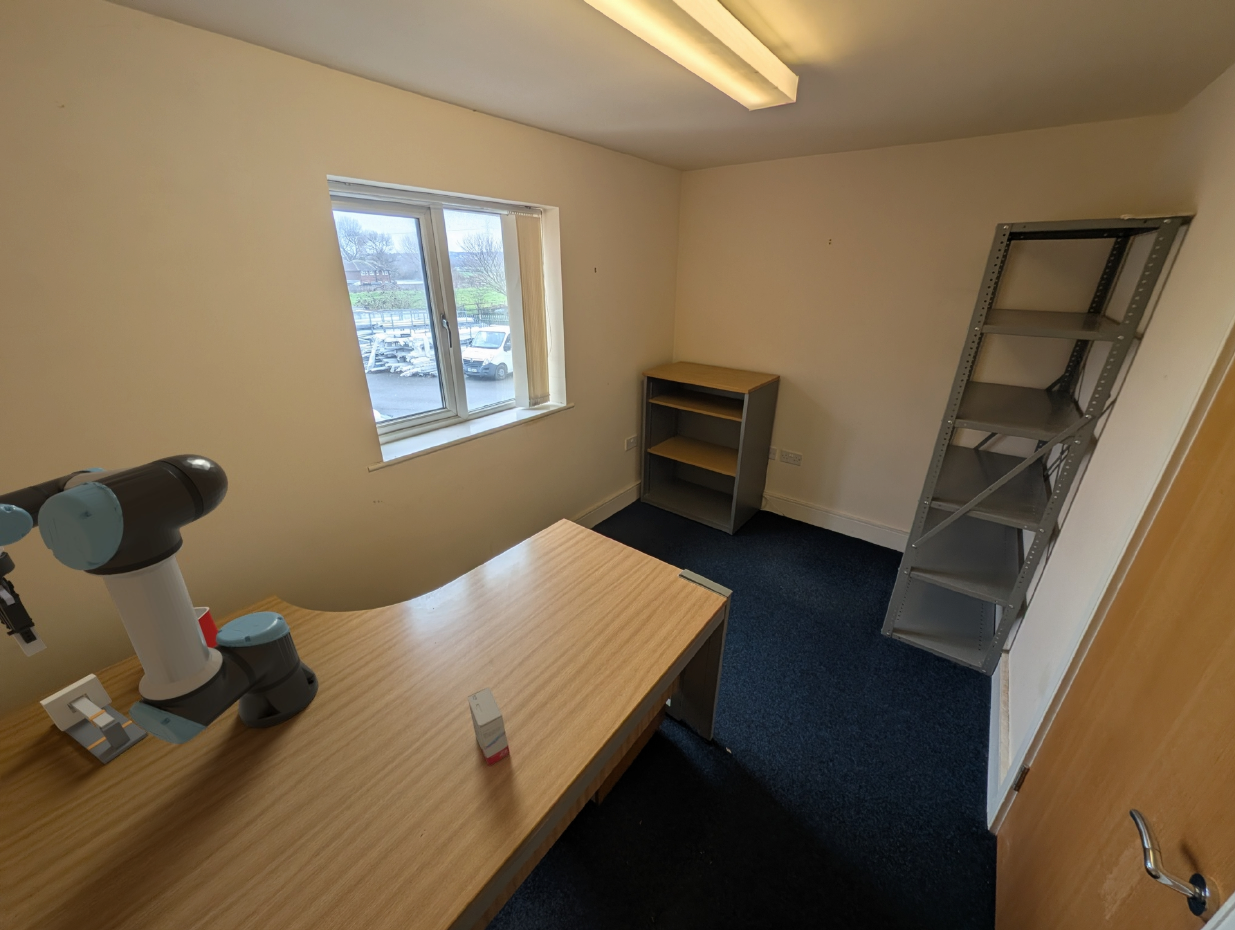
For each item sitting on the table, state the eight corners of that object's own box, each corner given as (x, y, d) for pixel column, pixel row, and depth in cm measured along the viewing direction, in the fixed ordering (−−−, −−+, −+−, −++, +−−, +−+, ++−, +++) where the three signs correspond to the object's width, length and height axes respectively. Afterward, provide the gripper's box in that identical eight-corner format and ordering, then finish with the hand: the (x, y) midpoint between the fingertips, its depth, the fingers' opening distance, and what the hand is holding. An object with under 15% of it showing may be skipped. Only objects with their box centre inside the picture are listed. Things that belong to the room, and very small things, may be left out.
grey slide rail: (148, 734, 99) (134, 711, 96) (104, 764, 93) (88, 740, 90) (97, 698, 107) (83, 676, 104) (54, 722, 101) (38, 700, 98)
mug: (226, 636, 125) (212, 606, 121) (203, 660, 118) (188, 628, 113) (179, 639, 124) (164, 609, 120) (154, 663, 117) (137, 631, 113)
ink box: (510, 754, 94) (504, 715, 90) (486, 768, 92) (479, 728, 87) (496, 723, 101) (490, 684, 96) (473, 734, 98) (466, 696, 94)
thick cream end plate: (112, 701, 104) (96, 676, 101) (62, 731, 97) (43, 705, 94) (107, 698, 105) (92, 673, 102) (58, 727, 98) (39, 701, 95)
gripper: (19, 557, 88) (75, 648, 98) (-8, 542, 93) (48, 630, 102) (-44, 579, 82) (23, 674, 91) (-69, 562, 87) (-4, 653, 96)
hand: (36, 651), depth 97 cm, fingers closed
